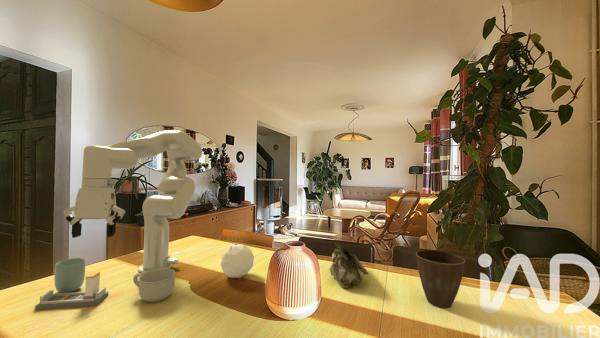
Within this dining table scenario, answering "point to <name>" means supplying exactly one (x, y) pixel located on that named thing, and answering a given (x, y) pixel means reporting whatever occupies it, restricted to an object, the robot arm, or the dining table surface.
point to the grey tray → (69, 300)
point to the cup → (69, 274)
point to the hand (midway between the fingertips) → (93, 236)
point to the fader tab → (92, 285)
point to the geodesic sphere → (237, 260)
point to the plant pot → (440, 276)
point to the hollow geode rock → (346, 267)
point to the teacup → (155, 284)
